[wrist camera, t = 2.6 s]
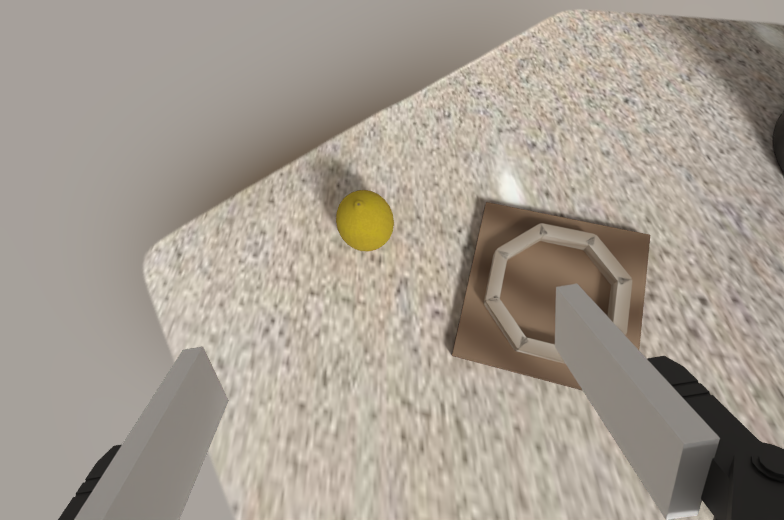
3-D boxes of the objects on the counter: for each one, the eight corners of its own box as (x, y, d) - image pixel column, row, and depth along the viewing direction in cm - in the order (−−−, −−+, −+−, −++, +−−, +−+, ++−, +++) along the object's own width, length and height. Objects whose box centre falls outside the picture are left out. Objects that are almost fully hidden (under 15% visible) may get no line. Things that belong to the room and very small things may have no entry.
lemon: (338, 253, 43) (319, 225, 35) (354, 207, 44) (339, 170, 37) (388, 266, 42) (379, 239, 34) (402, 218, 44) (397, 183, 36)
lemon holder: (484, 206, 43) (488, 195, 40) (644, 239, 41) (658, 229, 38) (451, 355, 39) (453, 353, 36) (627, 402, 36) (642, 403, 34)
